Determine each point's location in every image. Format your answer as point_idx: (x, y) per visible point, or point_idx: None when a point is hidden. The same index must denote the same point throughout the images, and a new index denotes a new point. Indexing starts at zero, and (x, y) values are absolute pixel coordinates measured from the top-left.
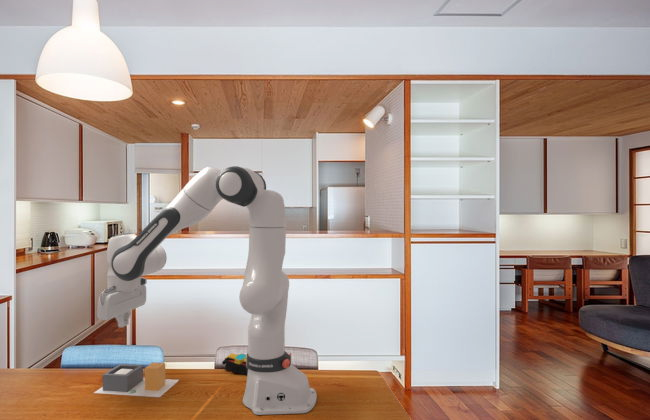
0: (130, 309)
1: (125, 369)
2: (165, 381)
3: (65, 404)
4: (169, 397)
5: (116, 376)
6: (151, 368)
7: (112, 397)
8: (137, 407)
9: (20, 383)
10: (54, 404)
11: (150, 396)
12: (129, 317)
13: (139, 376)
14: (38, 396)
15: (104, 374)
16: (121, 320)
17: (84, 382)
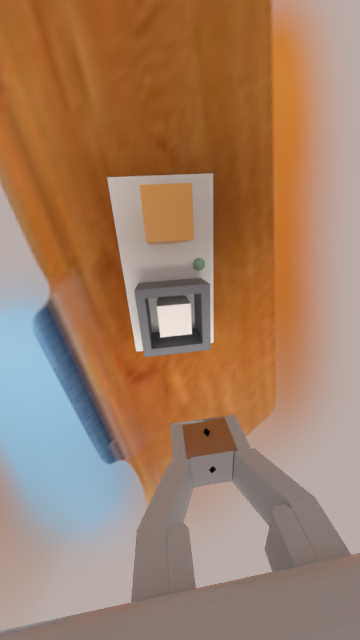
0: (201, 626)
1: (162, 324)
2: (128, 216)
3: (244, 360)
4: (191, 157)
5: (209, 313)
6: (192, 211)
7: None
8: (245, 214)
9: None
10: (245, 375)
11: (212, 203)
12: (163, 478)
13: (153, 284)
14: None
15: (209, 346)
16: (269, 468)
17: (166, 394)
